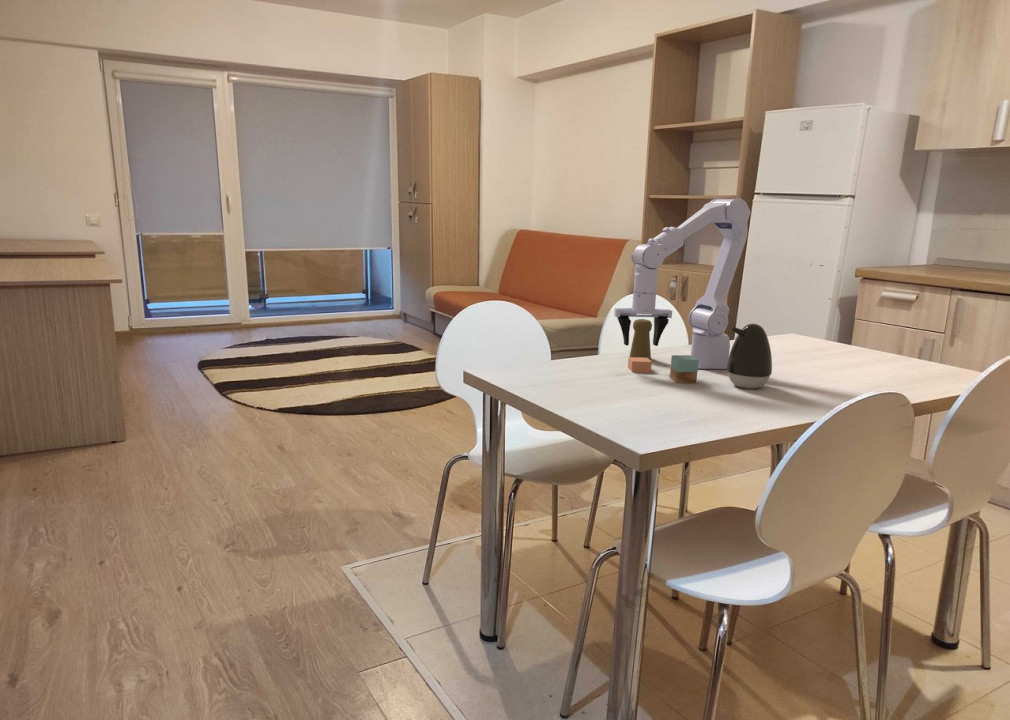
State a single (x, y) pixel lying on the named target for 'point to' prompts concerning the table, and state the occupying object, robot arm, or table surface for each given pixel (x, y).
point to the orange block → (639, 364)
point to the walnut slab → (683, 376)
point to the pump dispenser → (750, 358)
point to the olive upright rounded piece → (641, 339)
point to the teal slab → (684, 363)
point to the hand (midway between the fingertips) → (640, 344)
